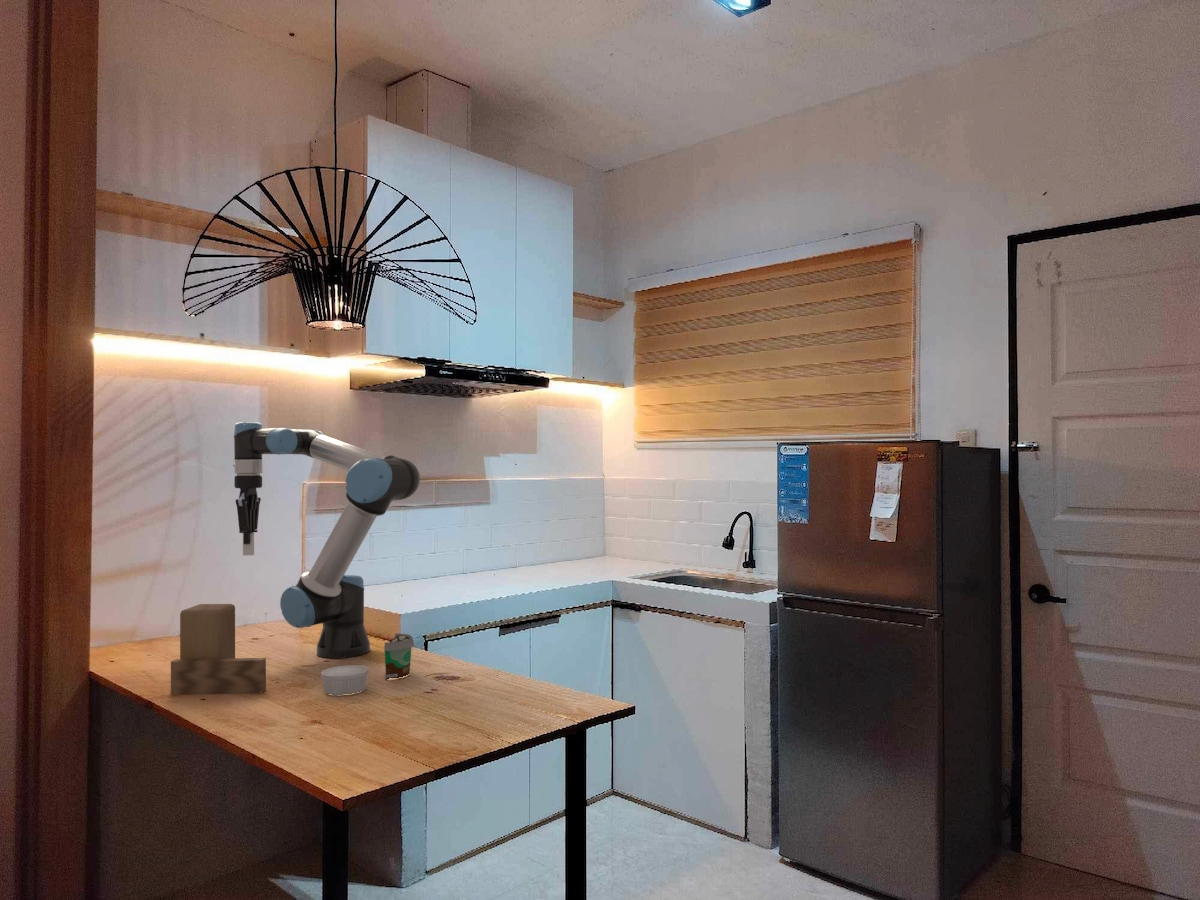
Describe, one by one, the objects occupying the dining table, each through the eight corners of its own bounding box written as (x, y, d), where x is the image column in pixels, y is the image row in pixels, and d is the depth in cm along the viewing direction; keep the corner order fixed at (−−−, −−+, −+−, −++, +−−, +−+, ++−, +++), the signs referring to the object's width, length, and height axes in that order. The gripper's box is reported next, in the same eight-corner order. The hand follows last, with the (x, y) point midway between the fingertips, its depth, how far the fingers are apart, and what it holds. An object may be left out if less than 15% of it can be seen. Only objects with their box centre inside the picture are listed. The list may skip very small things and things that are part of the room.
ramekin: (312, 692, 203) (312, 670, 203) (354, 683, 211) (354, 662, 211) (334, 701, 195) (334, 678, 195) (377, 691, 203) (377, 670, 203)
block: (236, 680, 214) (236, 603, 215) (218, 691, 204) (218, 610, 205) (198, 680, 214) (198, 603, 215) (178, 691, 204) (178, 610, 205)
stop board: (265, 690, 205) (265, 657, 205) (262, 693, 202) (262, 660, 202) (175, 691, 204) (175, 659, 204) (170, 694, 202) (170, 661, 202)
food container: (408, 682, 212) (408, 642, 212) (384, 682, 211) (384, 643, 212) (418, 669, 224) (418, 632, 224) (395, 670, 224) (395, 633, 224)
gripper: (244, 474, 249) (244, 552, 249) (226, 475, 236) (226, 557, 236) (269, 474, 249) (269, 552, 249) (252, 474, 236) (252, 557, 236)
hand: (248, 555), depth 243 cm, fingers closed
